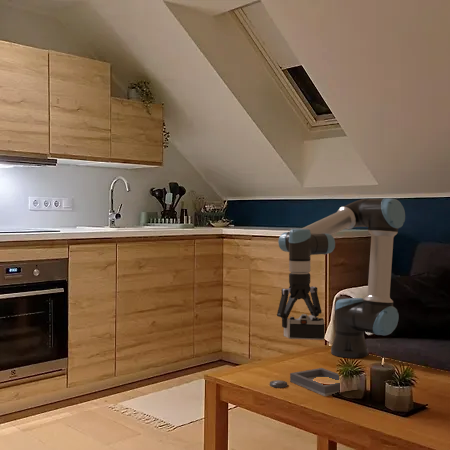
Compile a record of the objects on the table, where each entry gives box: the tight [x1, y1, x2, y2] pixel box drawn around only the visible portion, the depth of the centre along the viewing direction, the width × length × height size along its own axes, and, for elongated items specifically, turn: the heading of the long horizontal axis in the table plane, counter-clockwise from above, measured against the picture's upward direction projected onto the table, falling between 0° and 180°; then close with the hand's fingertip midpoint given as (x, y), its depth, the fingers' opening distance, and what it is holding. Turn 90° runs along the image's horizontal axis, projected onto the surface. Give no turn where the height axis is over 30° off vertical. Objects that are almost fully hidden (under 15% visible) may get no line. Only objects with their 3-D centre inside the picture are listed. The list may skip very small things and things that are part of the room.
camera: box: [288, 313, 326, 341], centre depth 214 cm, size 13×8×9 cm, turn 82°
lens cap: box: [269, 379, 288, 389], centre depth 209 cm, size 6×6×2 cm
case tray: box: [289, 367, 340, 397], centre depth 209 cm, size 14×19×3 cm
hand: (299, 335), depth 215 cm, fingers closed on camera, 10 cm apart
